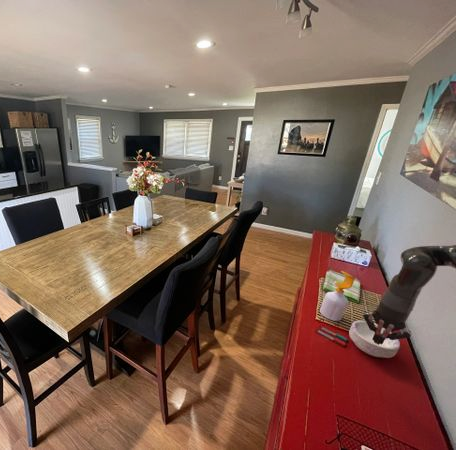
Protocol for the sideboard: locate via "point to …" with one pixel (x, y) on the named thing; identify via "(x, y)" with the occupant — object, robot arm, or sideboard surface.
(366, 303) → the sideboard surface
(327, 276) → the dish towel
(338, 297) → the soap bottle
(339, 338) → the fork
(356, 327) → the paper bowls
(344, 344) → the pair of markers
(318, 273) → the sideboard surface
